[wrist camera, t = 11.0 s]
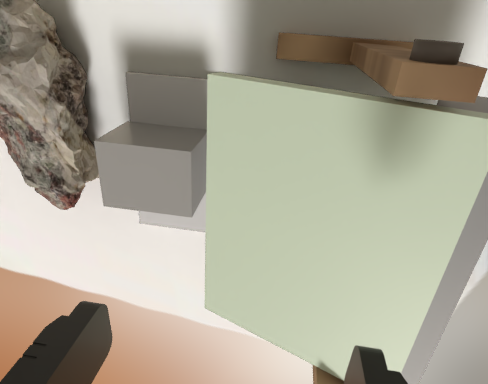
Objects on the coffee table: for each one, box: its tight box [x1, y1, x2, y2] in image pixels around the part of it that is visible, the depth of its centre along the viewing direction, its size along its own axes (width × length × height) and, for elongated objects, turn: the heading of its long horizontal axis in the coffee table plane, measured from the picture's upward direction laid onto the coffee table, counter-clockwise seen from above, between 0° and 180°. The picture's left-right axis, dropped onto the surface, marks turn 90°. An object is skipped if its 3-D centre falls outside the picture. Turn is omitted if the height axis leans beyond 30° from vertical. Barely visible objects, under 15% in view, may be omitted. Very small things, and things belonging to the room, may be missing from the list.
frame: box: [276, 33, 487, 384], centre depth 19 cm, size 8×18×12 cm, turn 177°
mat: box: [126, 72, 207, 232], centre depth 25 cm, size 13×12×1 cm
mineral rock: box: [0, 0, 99, 210], centre depth 23 cm, size 15×8×4 cm, turn 177°
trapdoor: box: [205, 72, 488, 384], centre depth 17 cm, size 12×14×5 cm
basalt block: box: [94, 121, 207, 218], centre depth 23 cm, size 4×4×6 cm
